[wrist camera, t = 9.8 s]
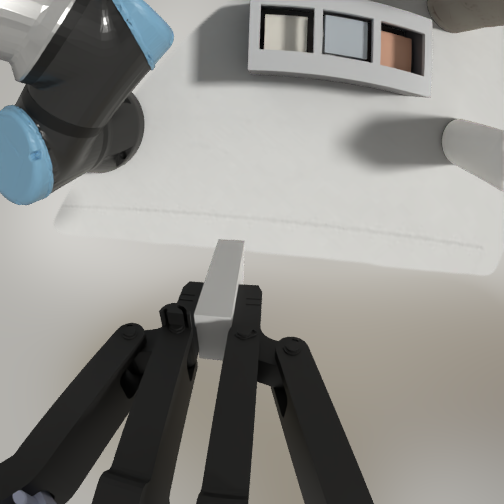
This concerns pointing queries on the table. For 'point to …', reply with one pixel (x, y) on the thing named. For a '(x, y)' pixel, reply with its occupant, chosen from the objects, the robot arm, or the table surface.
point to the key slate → (345, 37)
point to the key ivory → (285, 33)
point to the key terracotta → (396, 51)
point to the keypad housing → (344, 69)
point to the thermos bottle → (466, 14)
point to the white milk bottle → (476, 150)
